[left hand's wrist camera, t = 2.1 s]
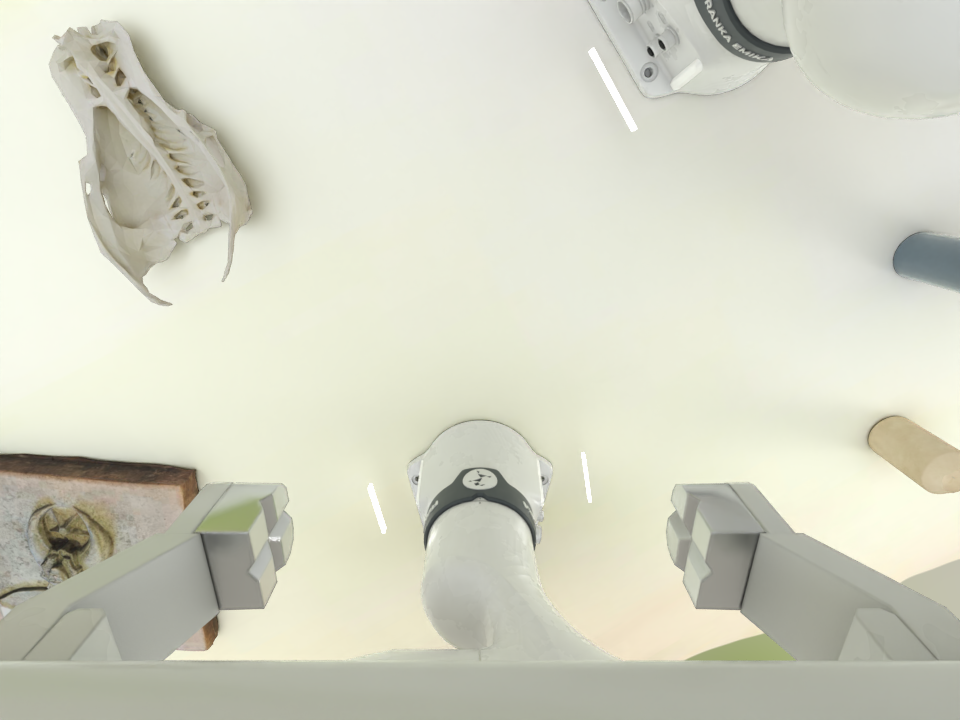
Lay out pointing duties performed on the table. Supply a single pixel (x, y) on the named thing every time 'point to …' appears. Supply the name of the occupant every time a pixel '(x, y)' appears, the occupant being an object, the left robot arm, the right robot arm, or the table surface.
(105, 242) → the anatomical model
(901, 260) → the jar
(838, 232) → the table surface
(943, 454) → the candle
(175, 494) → the plaque
